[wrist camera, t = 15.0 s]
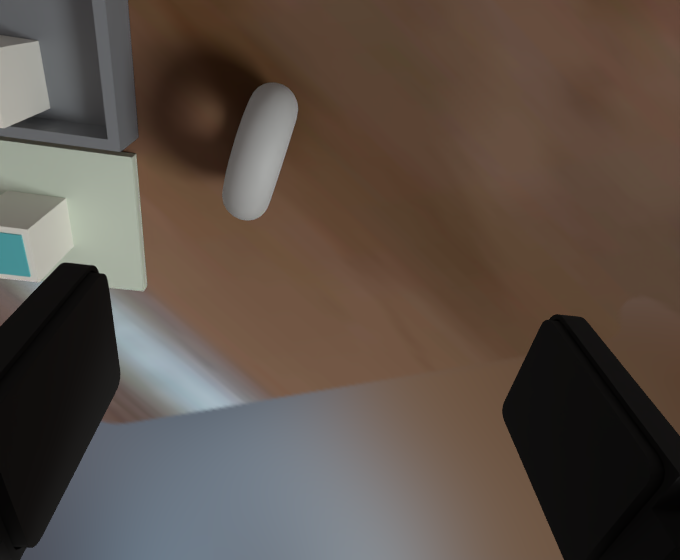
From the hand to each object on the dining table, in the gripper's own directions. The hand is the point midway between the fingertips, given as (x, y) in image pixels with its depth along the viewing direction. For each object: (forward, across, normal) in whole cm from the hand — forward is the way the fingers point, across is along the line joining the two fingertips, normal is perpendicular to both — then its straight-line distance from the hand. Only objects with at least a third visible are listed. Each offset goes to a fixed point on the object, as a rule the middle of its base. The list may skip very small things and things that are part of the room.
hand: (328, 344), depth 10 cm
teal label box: (+29, +22, +14) cm, 39 cm away
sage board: (+30, +22, +14) cm, 40 cm away
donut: (+31, +4, +4) cm, 31 cm away
